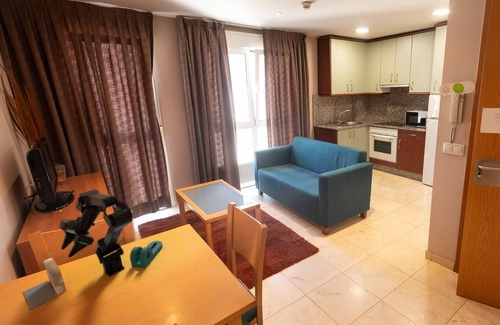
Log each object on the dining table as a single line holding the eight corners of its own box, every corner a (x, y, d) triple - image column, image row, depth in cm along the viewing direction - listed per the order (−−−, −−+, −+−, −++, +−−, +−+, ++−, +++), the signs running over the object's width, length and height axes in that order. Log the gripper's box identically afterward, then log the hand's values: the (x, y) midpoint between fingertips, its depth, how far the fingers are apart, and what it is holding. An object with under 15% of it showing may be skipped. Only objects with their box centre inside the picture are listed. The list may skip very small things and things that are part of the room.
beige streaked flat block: (58, 277, 110) (51, 257, 108) (66, 290, 103) (60, 269, 100) (49, 281, 108) (43, 261, 105) (57, 294, 101) (50, 273, 98)
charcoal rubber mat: (47, 280, 108) (47, 280, 108) (56, 296, 100) (56, 296, 99) (23, 292, 103) (23, 291, 103) (30, 310, 94) (30, 309, 94)
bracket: (145, 268, 113) (142, 253, 111) (131, 267, 114) (128, 252, 112) (165, 244, 130) (162, 231, 128) (152, 244, 131) (150, 230, 129)
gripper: (62, 205, 111) (38, 240, 106) (77, 217, 99) (51, 256, 94) (87, 214, 119) (66, 247, 114) (103, 226, 107) (80, 263, 102)
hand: (65, 253), depth 106 cm, fingers open, 9 cm apart
